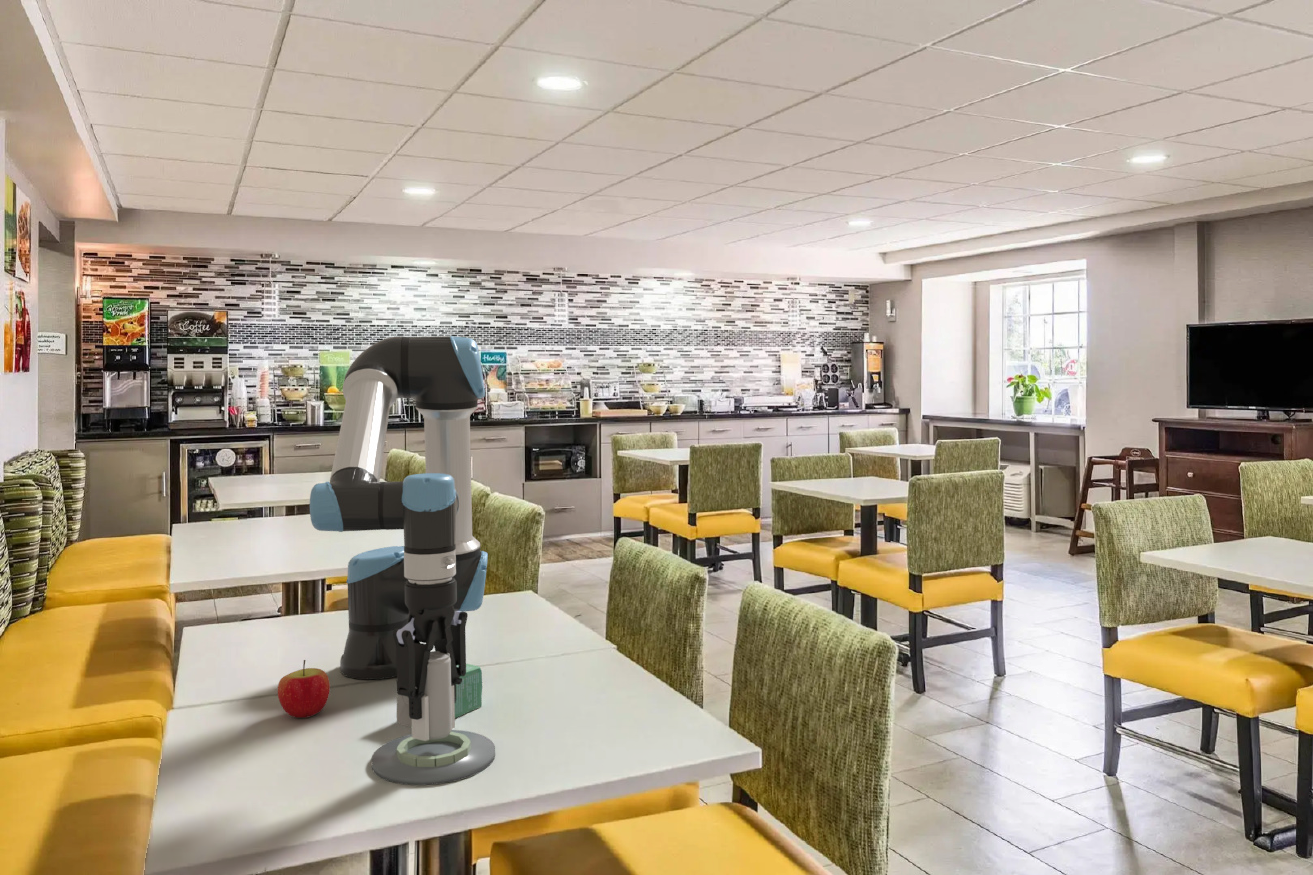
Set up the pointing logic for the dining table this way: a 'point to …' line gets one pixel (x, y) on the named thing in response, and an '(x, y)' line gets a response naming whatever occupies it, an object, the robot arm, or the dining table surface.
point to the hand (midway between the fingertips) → (433, 732)
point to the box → (465, 696)
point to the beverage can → (439, 694)
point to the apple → (304, 692)
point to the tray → (433, 758)
